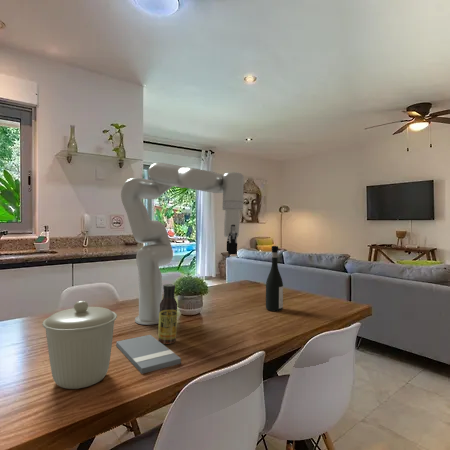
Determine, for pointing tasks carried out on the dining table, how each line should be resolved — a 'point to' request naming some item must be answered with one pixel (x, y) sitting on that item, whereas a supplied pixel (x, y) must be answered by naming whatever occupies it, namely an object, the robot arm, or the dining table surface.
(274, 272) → the wine bottle
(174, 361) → the board
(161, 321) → the sauce bottle
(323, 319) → the dining table surface
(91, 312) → the canister
